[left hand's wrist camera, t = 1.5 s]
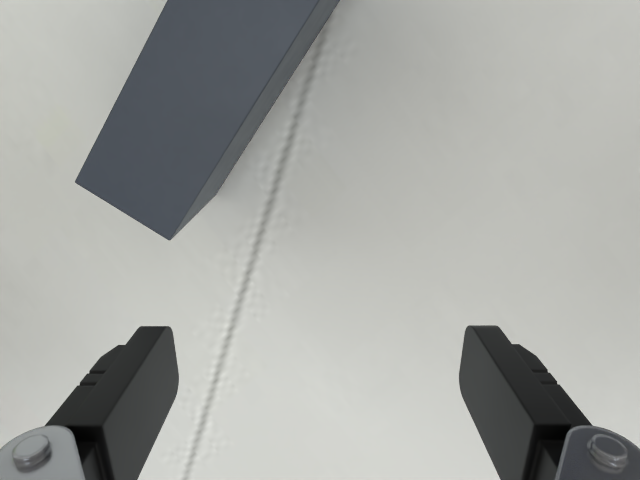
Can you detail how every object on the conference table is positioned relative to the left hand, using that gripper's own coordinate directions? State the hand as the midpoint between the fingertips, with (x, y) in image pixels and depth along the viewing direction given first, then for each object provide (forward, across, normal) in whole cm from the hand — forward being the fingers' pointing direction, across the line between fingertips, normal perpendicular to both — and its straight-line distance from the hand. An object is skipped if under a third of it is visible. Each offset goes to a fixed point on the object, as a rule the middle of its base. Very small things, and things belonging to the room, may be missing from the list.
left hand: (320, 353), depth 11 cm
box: (+24, -5, +9) cm, 26 cm away
